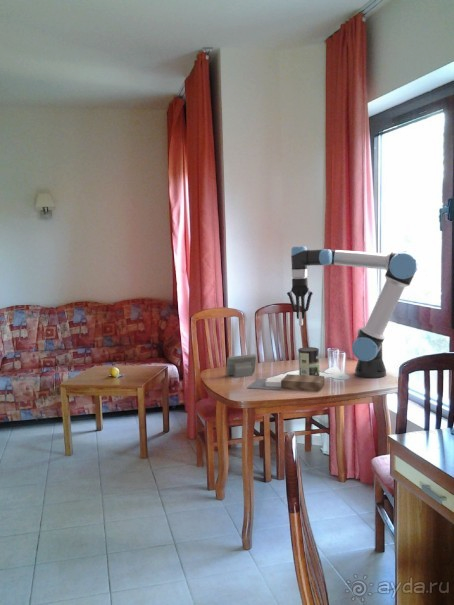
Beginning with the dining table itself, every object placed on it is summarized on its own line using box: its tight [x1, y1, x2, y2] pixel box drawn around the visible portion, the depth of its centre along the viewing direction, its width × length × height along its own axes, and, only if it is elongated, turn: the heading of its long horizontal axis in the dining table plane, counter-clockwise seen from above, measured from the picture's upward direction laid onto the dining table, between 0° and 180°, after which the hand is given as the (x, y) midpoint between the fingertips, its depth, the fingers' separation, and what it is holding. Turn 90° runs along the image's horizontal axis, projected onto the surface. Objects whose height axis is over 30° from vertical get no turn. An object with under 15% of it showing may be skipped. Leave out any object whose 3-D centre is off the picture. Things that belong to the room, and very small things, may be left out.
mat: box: [246, 378, 282, 391], centre depth 254 cm, size 16×16×1 cm
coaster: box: [266, 377, 284, 387], centre depth 253 cm, size 8×8×2 cm
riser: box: [281, 373, 325, 392], centre depth 248 cm, size 18×12×4 cm, turn 70°
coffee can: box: [297, 346, 320, 376], centre depth 265 cm, size 10×10×14 cm
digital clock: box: [225, 353, 257, 378], centre depth 275 cm, size 16×9×11 cm, turn 96°
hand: (301, 325), depth 262 cm, fingers closed
